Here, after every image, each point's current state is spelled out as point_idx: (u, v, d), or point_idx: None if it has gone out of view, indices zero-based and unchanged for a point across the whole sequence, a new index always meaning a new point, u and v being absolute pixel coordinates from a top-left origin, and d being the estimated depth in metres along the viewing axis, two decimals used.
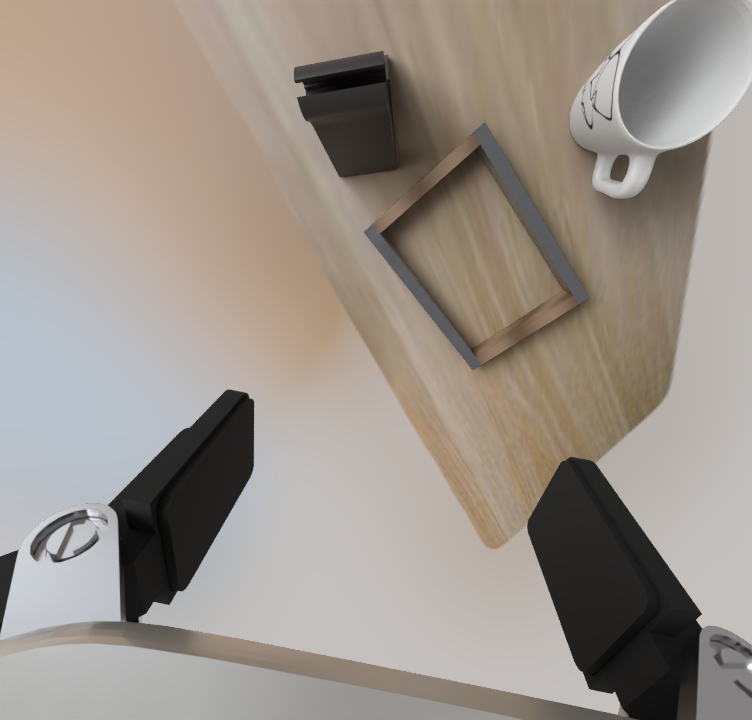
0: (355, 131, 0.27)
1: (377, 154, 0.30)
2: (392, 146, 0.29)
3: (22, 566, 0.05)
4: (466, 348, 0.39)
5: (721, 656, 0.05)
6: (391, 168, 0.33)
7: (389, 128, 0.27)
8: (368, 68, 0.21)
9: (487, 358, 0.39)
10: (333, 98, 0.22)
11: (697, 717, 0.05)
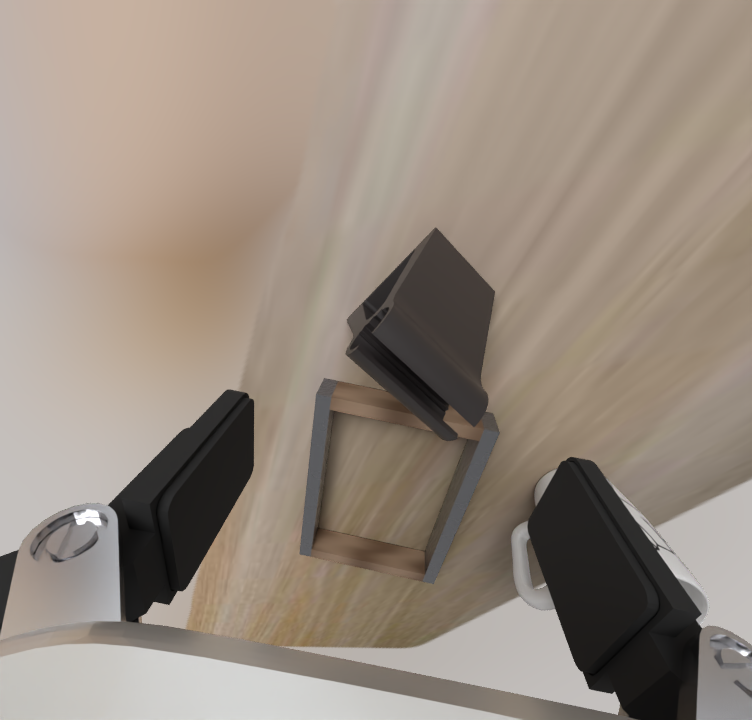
0: None
1: None
2: None
3: (22, 566, 0.05)
4: (310, 538, 0.33)
5: (721, 656, 0.05)
6: None
7: None
8: None
9: (320, 556, 0.35)
10: (394, 389, 0.14)
11: (697, 717, 0.05)
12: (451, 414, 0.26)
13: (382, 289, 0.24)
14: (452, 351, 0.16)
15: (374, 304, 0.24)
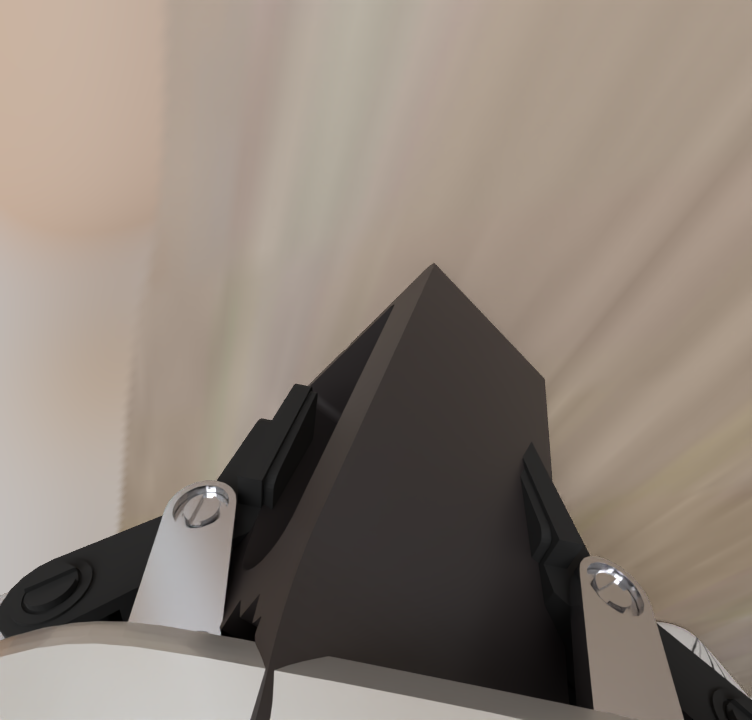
0: None
1: None
2: None
3: (172, 529, 0.06)
4: None
5: (596, 583, 0.06)
6: None
7: None
8: None
9: None
10: None
11: (589, 653, 0.05)
12: None
13: (336, 371, 0.13)
14: (496, 679, 0.05)
15: (324, 395, 0.13)
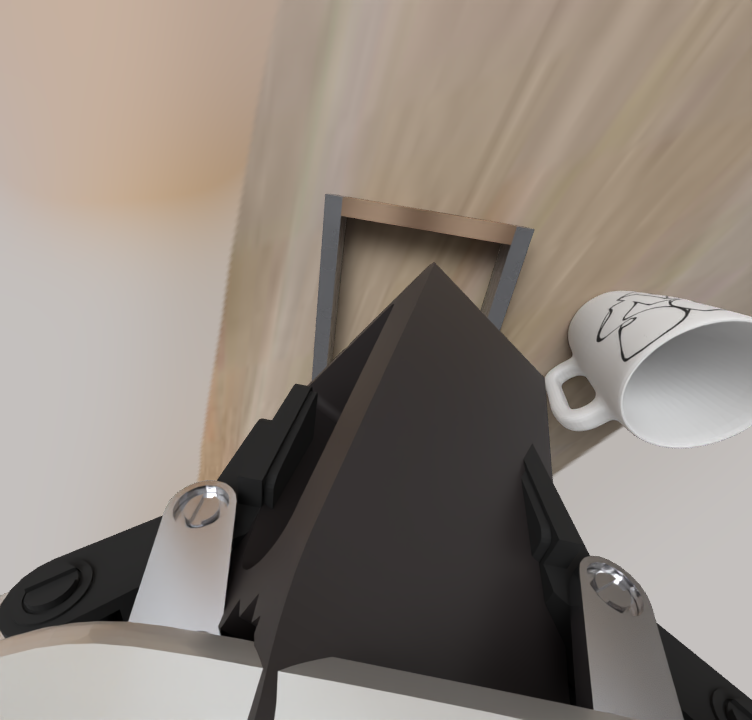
0: None
1: None
2: None
3: (173, 529, 0.06)
4: None
5: (596, 583, 0.06)
6: None
7: None
8: None
9: None
10: None
11: (588, 653, 0.05)
12: (478, 219, 0.23)
13: (336, 370, 0.13)
14: (497, 679, 0.05)
15: (324, 394, 0.13)
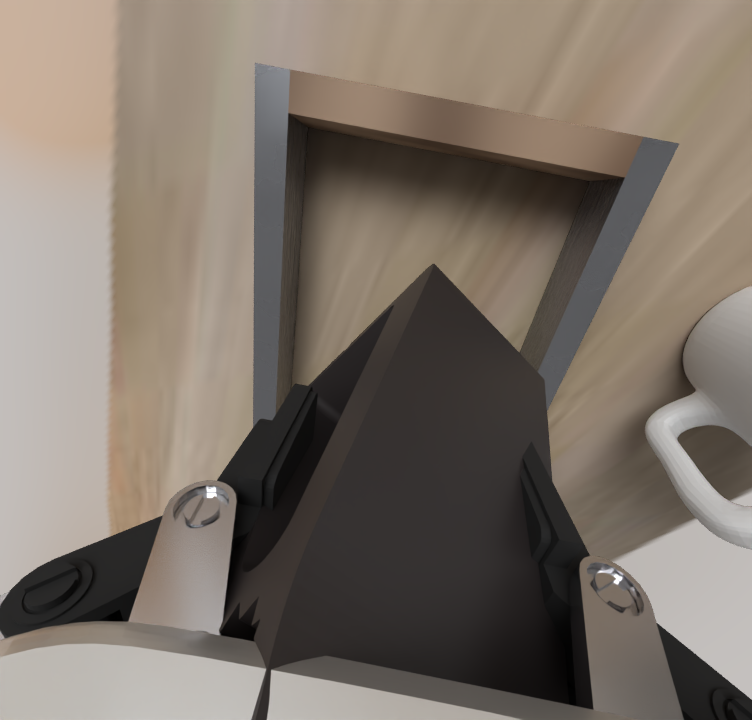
0: None
1: None
2: None
3: (172, 530, 0.06)
4: None
5: (596, 583, 0.06)
6: None
7: None
8: None
9: None
10: None
11: (589, 653, 0.05)
12: None
13: (336, 371, 0.13)
14: (496, 681, 0.05)
15: (324, 395, 0.13)
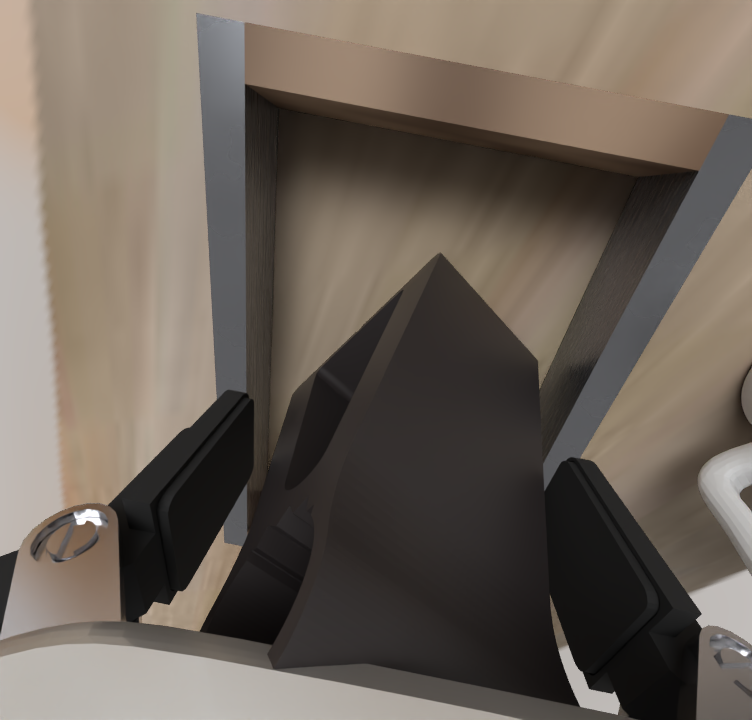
0: None
1: None
2: None
3: (22, 566, 0.05)
4: (242, 508, 0.16)
5: (721, 656, 0.05)
6: None
7: None
8: None
9: None
10: None
11: (697, 717, 0.05)
12: None
13: (348, 351, 0.14)
14: (491, 579, 0.06)
15: (336, 373, 0.15)
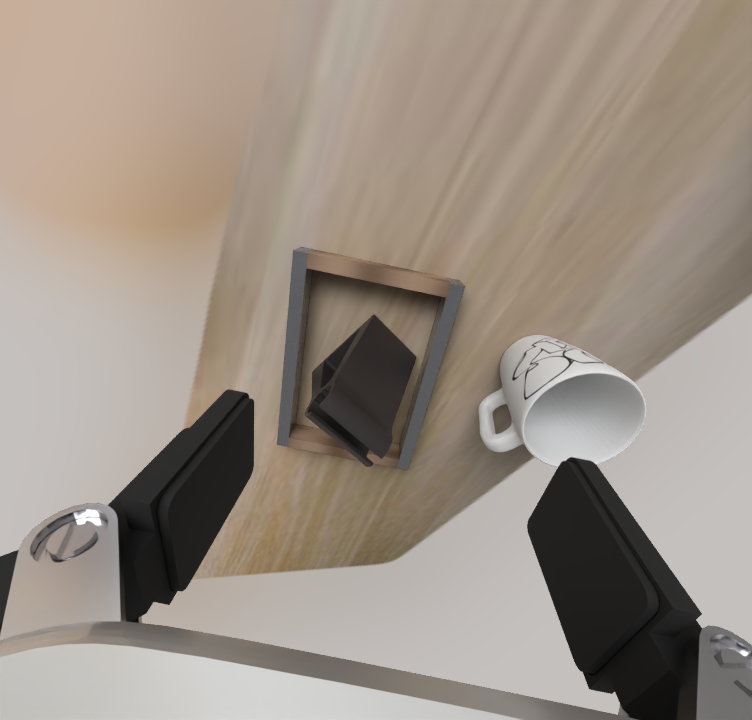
0: None
1: None
2: None
3: (22, 566, 0.05)
4: (288, 424, 0.34)
5: (721, 656, 0.05)
6: None
7: None
8: (371, 450, 0.23)
9: (297, 446, 0.35)
10: (333, 436, 0.23)
11: (697, 717, 0.05)
12: (421, 275, 0.28)
13: (337, 352, 0.33)
14: (373, 409, 0.25)
15: (332, 362, 0.33)
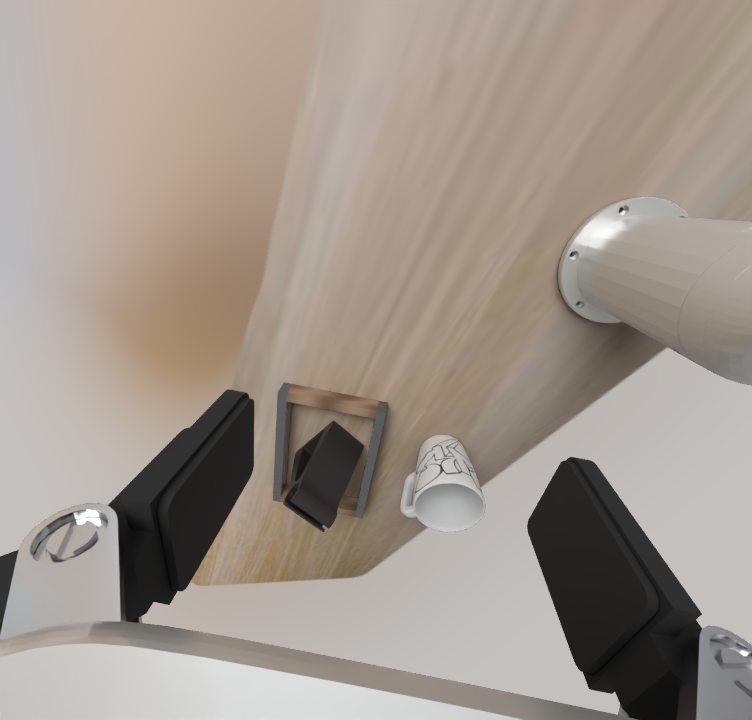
0: None
1: None
2: None
3: (22, 566, 0.05)
4: (279, 488, 0.51)
5: (721, 656, 0.05)
6: None
7: None
8: (322, 523, 0.39)
9: None
10: (300, 515, 0.39)
11: (697, 717, 0.05)
12: (359, 403, 0.44)
13: (311, 442, 0.49)
14: (326, 494, 0.41)
15: (308, 448, 0.49)
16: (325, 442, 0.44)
